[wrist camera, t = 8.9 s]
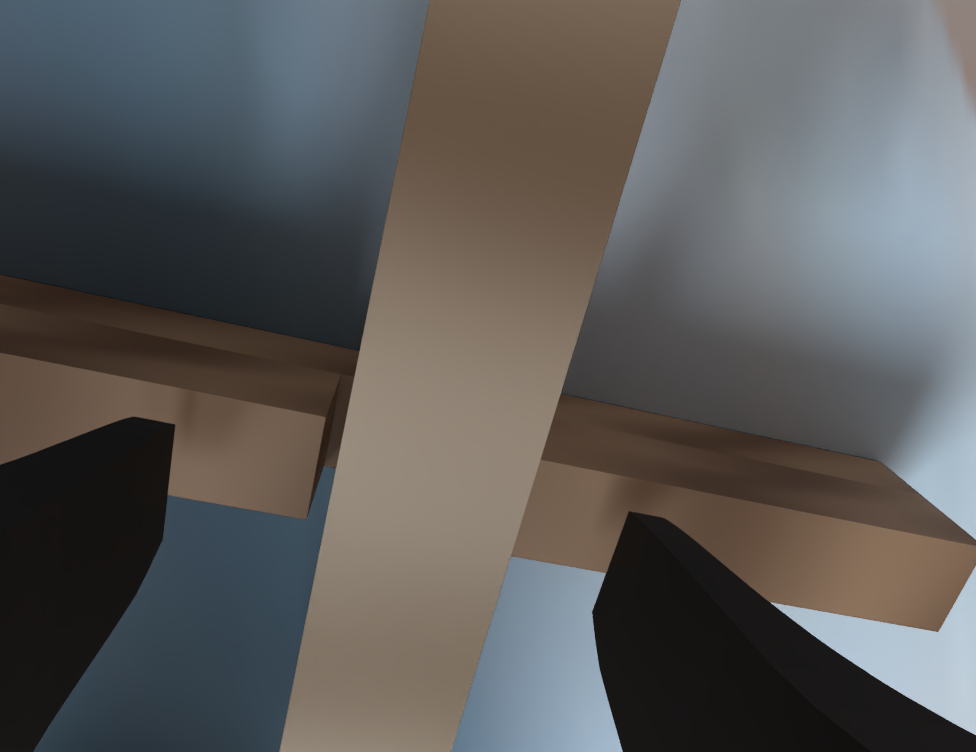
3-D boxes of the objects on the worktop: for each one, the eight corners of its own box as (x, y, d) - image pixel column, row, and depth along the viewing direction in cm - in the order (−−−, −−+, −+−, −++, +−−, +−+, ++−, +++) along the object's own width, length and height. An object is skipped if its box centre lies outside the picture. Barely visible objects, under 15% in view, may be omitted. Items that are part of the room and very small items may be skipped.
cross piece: (376, 726, 19) (333, 1135, 11) (299, 715, 19) (204, 1126, 11) (569, -29, 13) (743, -203, 5) (460, -61, 13) (488, -291, 5)
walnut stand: (881, 461, 17) (985, 548, 14) (846, 533, 18) (938, 631, 14) (-144, 244, 14) (-324, 287, 11) (-139, 341, 15) (-307, 410, 11)
